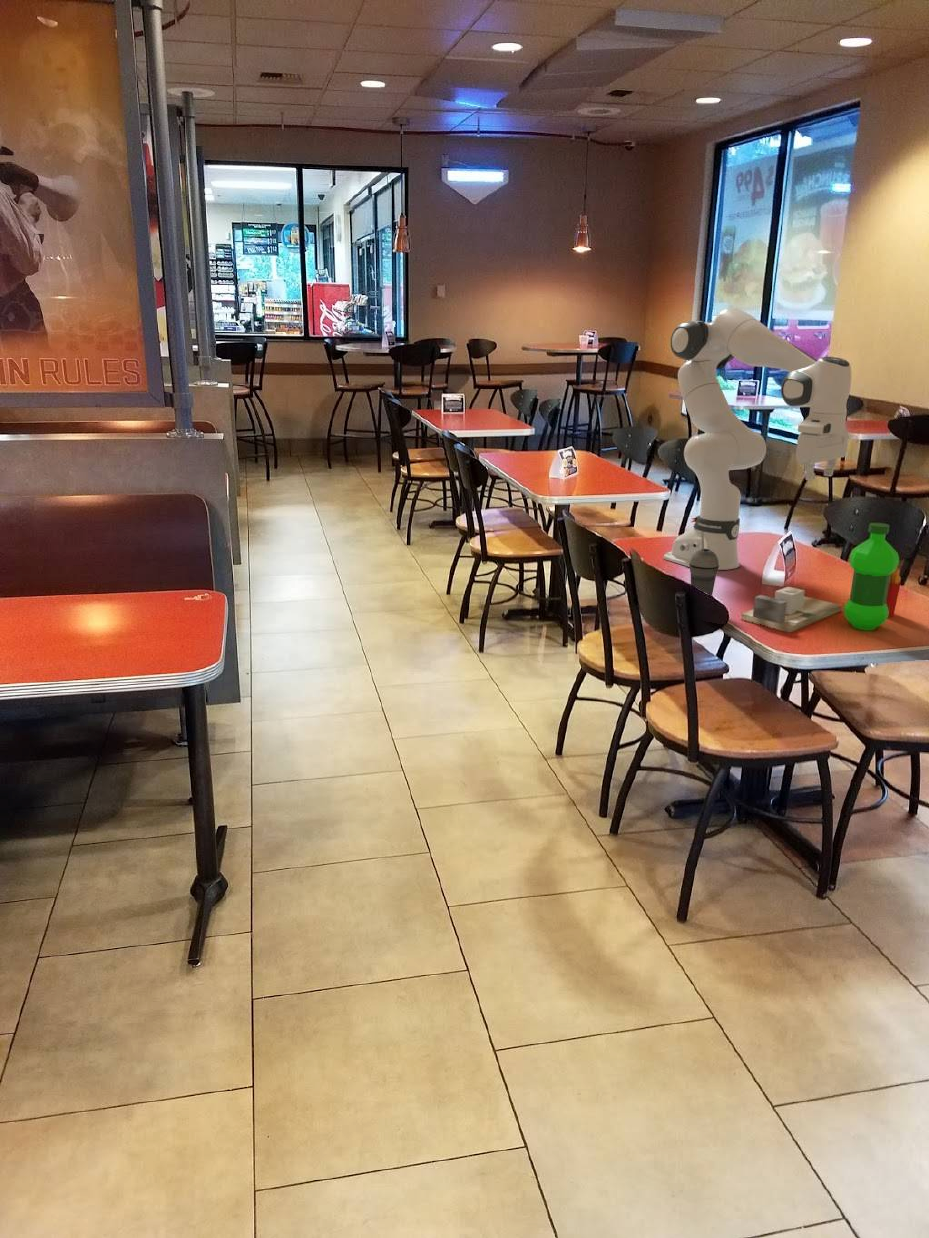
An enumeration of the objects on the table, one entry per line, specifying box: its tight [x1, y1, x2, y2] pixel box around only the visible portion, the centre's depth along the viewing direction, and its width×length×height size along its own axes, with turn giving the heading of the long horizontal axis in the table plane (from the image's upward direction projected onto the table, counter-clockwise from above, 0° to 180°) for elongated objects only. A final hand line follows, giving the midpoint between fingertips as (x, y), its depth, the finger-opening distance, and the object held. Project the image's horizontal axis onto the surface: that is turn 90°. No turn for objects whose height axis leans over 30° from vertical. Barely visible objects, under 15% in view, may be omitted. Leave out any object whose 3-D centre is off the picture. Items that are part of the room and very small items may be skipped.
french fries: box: [886, 569, 902, 618], centre depth 228 cm, size 8×4×12 cm, turn 8°
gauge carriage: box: [774, 586, 811, 615], centre depth 223 cm, size 8×9×5 cm
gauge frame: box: [741, 594, 843, 634], centre depth 227 cm, size 13×25×6 cm, turn 132°
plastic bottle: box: [843, 522, 900, 631], centre depth 216 cm, size 10×10×25 cm
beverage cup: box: [689, 531, 719, 596], centre depth 229 cm, size 7×7×20 cm
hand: (818, 478), depth 237 cm, fingers open, 8 cm apart
